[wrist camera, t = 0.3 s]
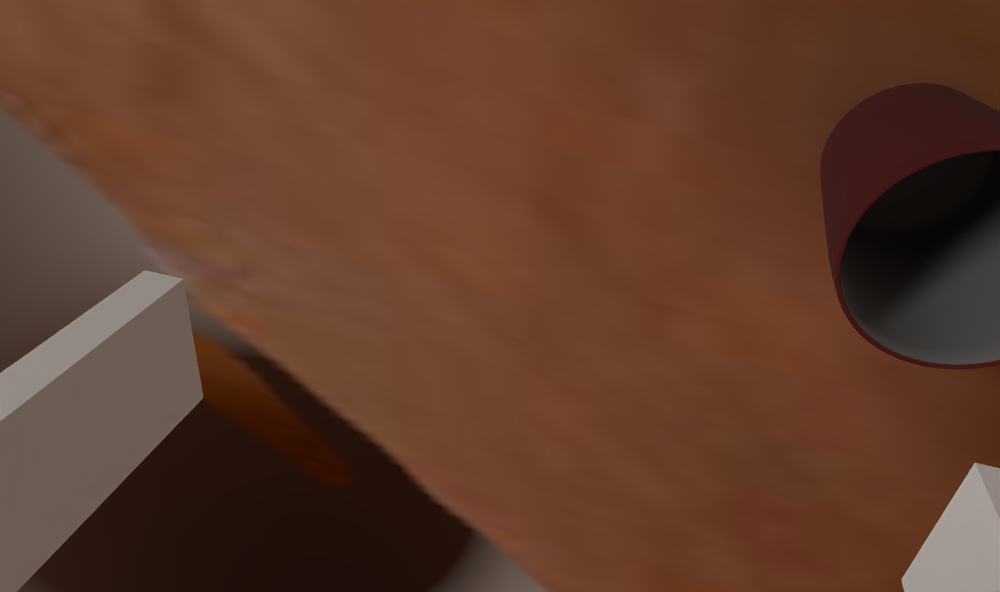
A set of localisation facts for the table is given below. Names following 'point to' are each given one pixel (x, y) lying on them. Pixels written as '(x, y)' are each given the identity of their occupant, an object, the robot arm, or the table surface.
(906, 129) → the mug
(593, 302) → the table surface
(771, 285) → the table surface
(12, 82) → the table surface
